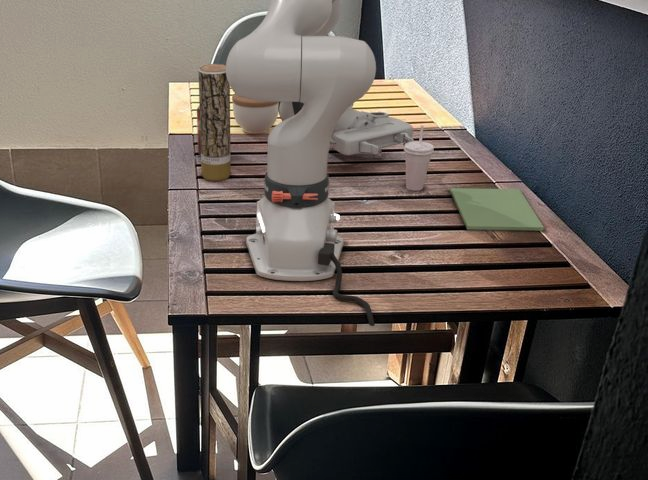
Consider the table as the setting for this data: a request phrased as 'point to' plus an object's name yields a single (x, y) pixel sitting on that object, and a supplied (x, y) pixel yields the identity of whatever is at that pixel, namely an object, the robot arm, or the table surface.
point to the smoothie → (417, 162)
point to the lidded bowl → (254, 114)
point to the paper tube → (214, 122)
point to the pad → (495, 209)
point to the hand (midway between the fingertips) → (395, 146)
